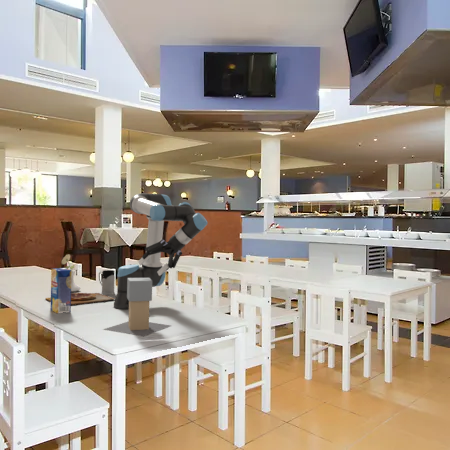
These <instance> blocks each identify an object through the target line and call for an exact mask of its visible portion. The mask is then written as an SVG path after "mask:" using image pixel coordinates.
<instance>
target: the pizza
mask: <svg viewBox="0 0 450 450" xmlns="http://www.w3.org/2000/svg"><path fill="white" fill-rule="evenodd" d="M115 298H116V297H112V296H110V295H102V294H101V292H94V293H93V292H92V293H91V292H71V306H81V305H82V306H84V305H90V304H91V305H93V304H101V303H105V302H108V301H113V300H114V301H115ZM45 300H46V301H48V302H49V303H51V297H45Z"/></svg>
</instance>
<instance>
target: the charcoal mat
mask: <svg viewBox="0 0 450 450" xmlns="http://www.w3.org/2000/svg"><path fill="white" fill-rule="evenodd" d="M170 327H172V325H170V324H162V323H158V322H157V323H156V322H150V321H149V329H144V330H130V329H129V326H128V321H125V322H121V323H119V324H115V325H112V326H109V327H106V328H103V329H102V330H103V331H110V332H116V333H121V334H127V335H132V336H137V337H138V336H139V337H147V336H149V335H151V334H154V333H157V332H159V331H161V330H165V329H168V328H170Z"/></svg>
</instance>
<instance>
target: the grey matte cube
mask: <svg viewBox="0 0 450 450" xmlns="http://www.w3.org/2000/svg"><path fill="white" fill-rule="evenodd" d="M127 298H128V300H129V301H149V302H151V301H152V300H153V287H152V280H151V279H150V278H127Z"/></svg>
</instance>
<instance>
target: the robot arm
mask: <svg viewBox="0 0 450 450" xmlns="http://www.w3.org/2000/svg"><path fill="white" fill-rule="evenodd" d="M129 207H130V208H129V209H130V210H131V211H132V212H133V213H136V214H139V215H140V214H141V215H145V216H146V219H147V220H148V222H147V224H148V226H147V234H146V246H145V249H144V250H145V253H144V254H143V255H142V256H141V258H140V259H139V260H138V261H137V262H138V264H126V265H123V266H120V267H118V269H117V275H116V276H117V287H116V288H117V289H116V290H117V291H116V292H117V293H116V296H115V297H114V298H115V299H114V301H113V308H114V309H119V310H129V300H128V298H127V278H150V279H151V280H152V288H154V287H155V288H156V287H160V286H162V284H163V283H164V281H165V279H166V272H167V271H168V270H169V269H175V268H176V266H177V264H178V262H179V260H180V258H181V256H182V255H183V252H182V249H183V248H185V247H186V245H188V243H190V242H191V241H192V239H194V238H195V237H196V236H197V235H198V234H199V233H200V232H201V231H203V230H204V229H205V228H206V226H208V221H207V219H206V218H205V216H204V215H203V214H202V213H200V212H196V211H195V209H194V207H193V206H192V205H191V203H189V202H187V201H182V202H180V203H179V204H178V205H173V204H172V201H171V198H170V196H168V195H167V194H162V193H146V192H143V193H137V194H135V195H133V196H132V197H131V199H130V201H129ZM165 222H183V226H181V227H180V228H179V229H178V230H177V231H176V232H175V233H174V234H173V235H172V236H171V237H170V238H169V239H168V241H165V239H164V238H163V233H164V224H165ZM162 253H165V254H167V255H169V256H168V261H167V263H165V264H164V265H163V263H162V262H161V258H162V257H161V256H162Z"/></svg>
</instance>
